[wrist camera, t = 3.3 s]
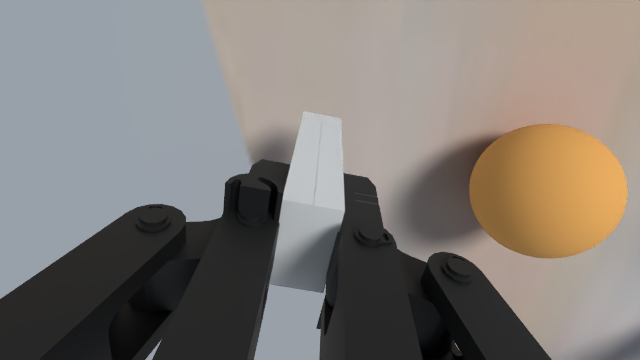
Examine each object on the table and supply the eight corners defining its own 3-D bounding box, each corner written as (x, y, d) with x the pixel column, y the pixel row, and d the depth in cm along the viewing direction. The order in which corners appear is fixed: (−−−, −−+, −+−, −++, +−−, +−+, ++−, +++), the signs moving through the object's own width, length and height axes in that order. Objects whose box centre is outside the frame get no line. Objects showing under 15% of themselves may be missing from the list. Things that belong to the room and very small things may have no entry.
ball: (596, 119, 16) (707, 176, 11) (538, 217, 19) (609, 298, 14) (480, 96, 16) (543, 144, 11) (437, 199, 18) (473, 275, 14)
